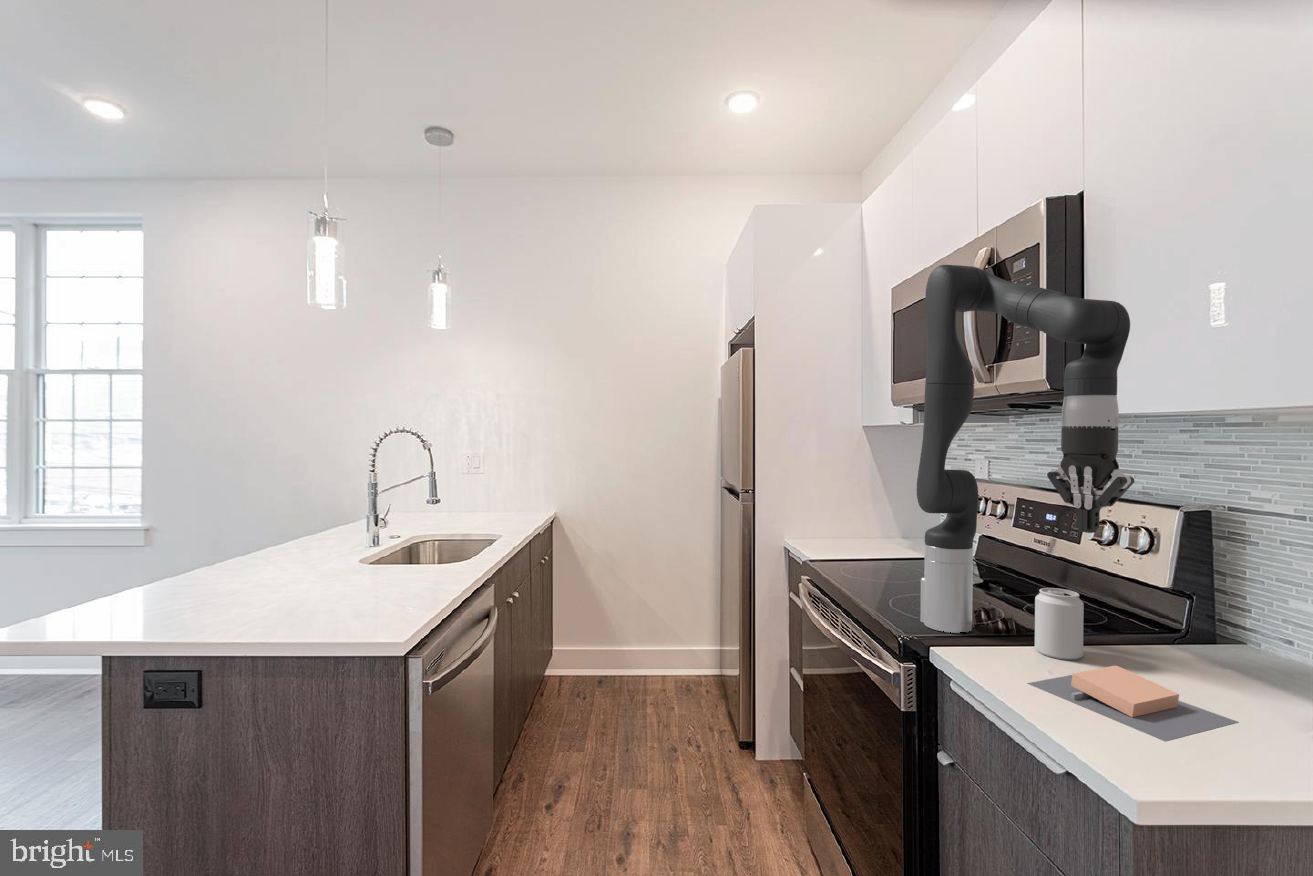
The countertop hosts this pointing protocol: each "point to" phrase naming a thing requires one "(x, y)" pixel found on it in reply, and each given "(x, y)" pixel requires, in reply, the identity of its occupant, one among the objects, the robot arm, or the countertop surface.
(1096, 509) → the robot arm
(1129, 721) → the mat
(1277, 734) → the countertop surface
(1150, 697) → the tile
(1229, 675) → the countertop surface
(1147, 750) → the countertop surface
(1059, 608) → the can
